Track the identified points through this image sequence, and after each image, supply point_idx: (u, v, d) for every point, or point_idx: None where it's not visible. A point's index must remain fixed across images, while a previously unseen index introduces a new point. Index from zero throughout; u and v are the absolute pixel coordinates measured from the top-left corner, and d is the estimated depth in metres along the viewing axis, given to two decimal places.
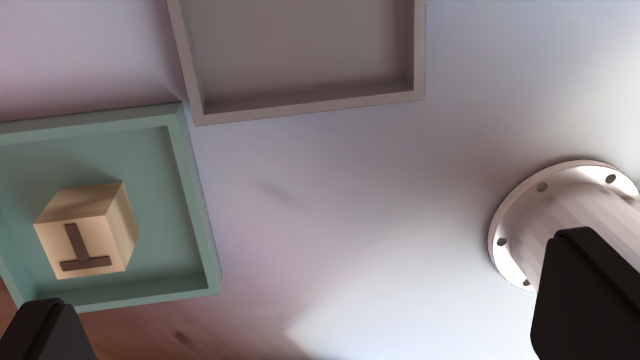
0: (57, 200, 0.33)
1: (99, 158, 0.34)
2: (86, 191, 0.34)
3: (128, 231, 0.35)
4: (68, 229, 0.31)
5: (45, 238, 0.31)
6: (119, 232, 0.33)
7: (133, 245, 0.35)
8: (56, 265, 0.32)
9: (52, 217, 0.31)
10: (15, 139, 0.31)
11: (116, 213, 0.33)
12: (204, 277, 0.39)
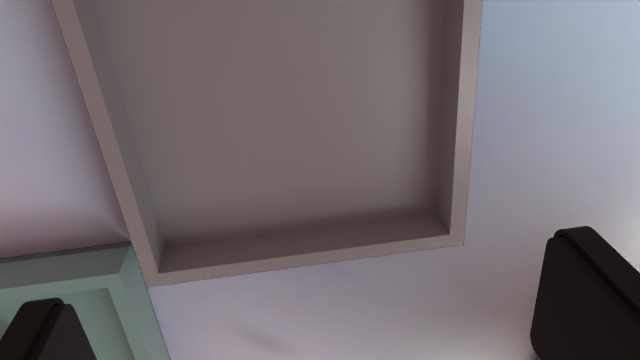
0: None
1: None
2: None
3: None
4: None
5: None
6: None
7: None
8: None
9: None
10: None
11: None
12: None
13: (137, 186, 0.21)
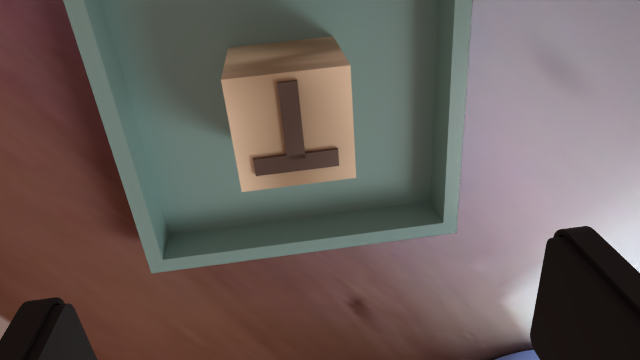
0: (238, 56, 0.19)
1: None
2: (279, 46, 0.20)
3: None
4: (282, 90, 0.17)
5: (238, 110, 0.17)
6: None
7: None
8: (245, 164, 0.18)
9: (250, 71, 0.17)
10: None
11: None
12: (424, 208, 0.25)
13: None
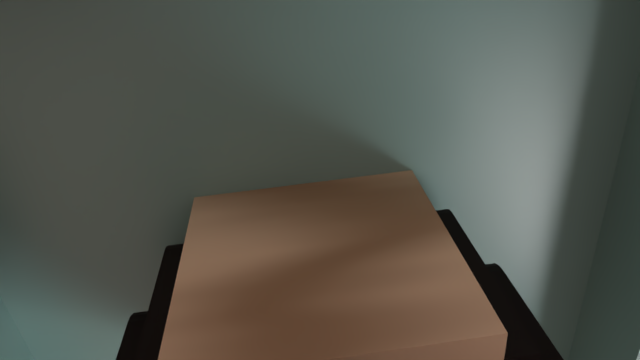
0: (212, 243, 0.08)
1: (356, 84, 0.09)
2: (302, 204, 0.09)
3: None
4: None
5: None
6: None
7: None
8: None
9: (234, 339, 0.07)
10: None
11: None
12: None
13: None
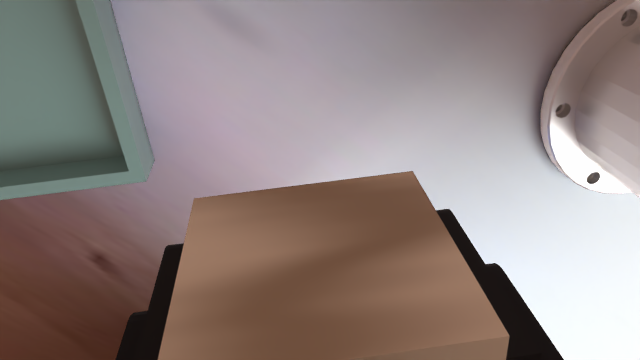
0: (211, 244, 0.08)
1: None
2: (302, 205, 0.09)
3: None
4: None
5: None
6: None
7: None
8: None
9: (234, 342, 0.06)
10: None
11: None
12: (125, 159, 0.26)
13: None
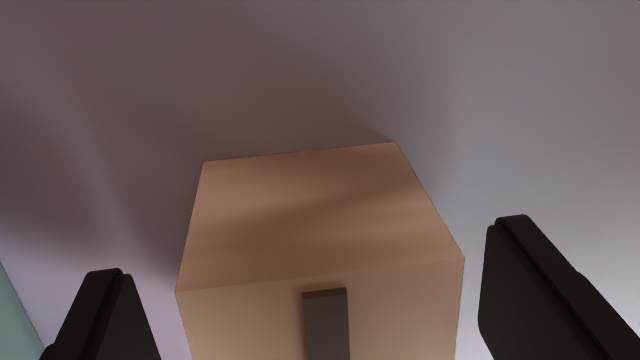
0: (220, 194, 0.10)
1: None
2: (298, 165, 0.11)
3: None
4: (313, 311, 0.08)
5: (213, 343, 0.08)
6: None
7: None
8: None
9: (241, 262, 0.08)
10: None
11: None
12: None
13: None
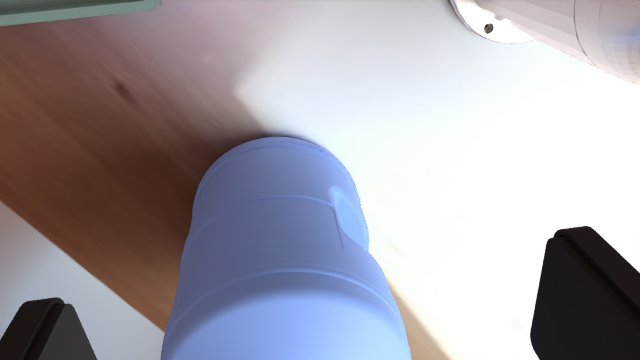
0: None
1: None
2: None
3: None
4: None
5: None
6: None
7: None
8: None
9: None
10: None
11: None
12: None
13: None
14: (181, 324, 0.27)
